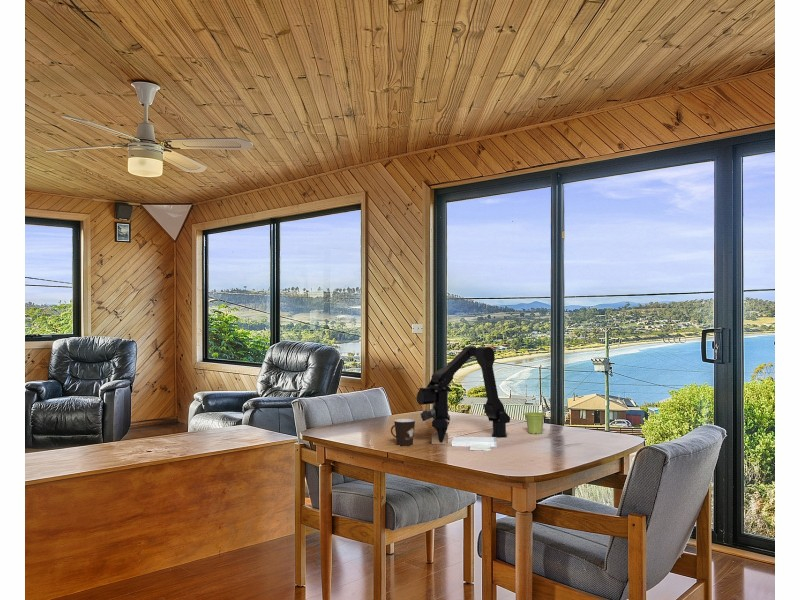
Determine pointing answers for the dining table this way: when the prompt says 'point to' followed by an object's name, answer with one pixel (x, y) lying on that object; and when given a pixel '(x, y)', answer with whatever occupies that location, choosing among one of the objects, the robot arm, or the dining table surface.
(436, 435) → the block
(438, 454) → the dining table surface
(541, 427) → the plant pot
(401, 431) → the coffee mug
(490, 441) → the channel
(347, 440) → the dining table surface
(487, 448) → the coaster
